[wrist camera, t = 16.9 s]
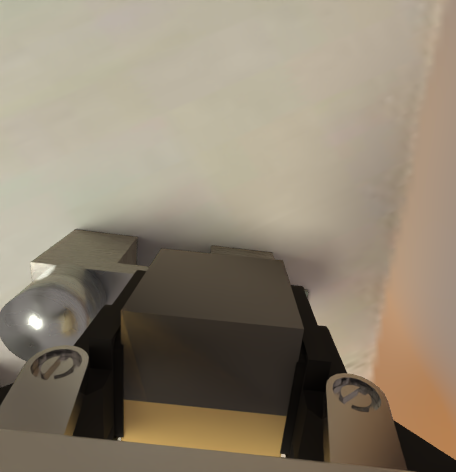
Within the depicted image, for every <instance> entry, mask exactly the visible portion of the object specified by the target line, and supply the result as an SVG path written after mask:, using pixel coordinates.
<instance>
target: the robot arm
mask: <svg viewBox="0 0 456 472" xmlns="http://www.w3.org/2000/svg"><path fill="white" fill-rule="evenodd" d="M145 273H146V271H143V270H137V271H136V272H135V273H134V275H133V276H132V278H131V279H130V280H129V282H128V283H127V285H126V286H125V287H124V289H123V290H122V292H121V293H120V294H119V296H118V297H117V299H116V300H115V301H114V303H113V304H112V305H108V304H107V305H104V306H103V307H102V309H101V310H100V311H99V313H98V314H97V315H96V317H95V318H94V319H93V320H92V322H91V323H90V324H89V326H88V327H87V328H86V330H85V331H84V332H83V334H82V335H81V336H80V338H79V339H78V340H77V342H76V343H75V344H74V346H69V345H63V346H55V347H51V348H48V349H45V350H43V351H41V352H38V353H37V354H35V355H34V356H32V357H31V358H30V359H29V360H28V361H27V362H26V364H25V365H24V367H23V368H22V370H21V372H20V373H19V375H18V377H17V378H16V380H15V382H14V383H12V384H10V385H7V386H4V387H2V388H0V472H456V460H454V459H453V458H451V457H450V456H448V455H447V454H445V453H444V452H442V451H440V450H439V449H437V448H436V447H434V446H433V445H431V444H430V443H428V442H426V441H425V440H423V439H422V438H420V437H419V436H417V435H416V434H414V433H413V432H411V431H410V430H408V429H406V428H405V427H403V426H402V425H400V424H399V423H397V422H395V421H394V420H393V417H392V414H391V410H390V407H389V404H388V400H387V398H386V396H385V394H384V393H383V392H382V391H381V390H380V388H379V387H377V386H376V385H375V384H373V383H372V382H371V381H369V380H367V379H365V378H363V377H360V376H357V375H354V374H347V372H346V370H345V367H344V365H343V362H342V360H341V358H340V355H339V353H338V351H337V348H336V346H335V344H334V341H333V339H332V337H331V334H330V332H329V330H328V328H327V327H326V326H318V325H317V322H316V319H315V317H314V314H313V312H312V309H311V306H310V304H309V301H308V299H307V296H306V293H305V291H304V288H303V286H294V285H291V288H292V292H293V295H294V298H295V301H296V304H297V308H298V311H299V314H300V317H301V320H302V324H303V327H304V333H303V338H302V344H301V349H300V355H299V360H298V362H296V368H295V373H294V379H293V384H292V389H291V395H290V400H289V406H288V411H287V417H286V422H285V428H284V433H283V439H282V444H281V450H280V454H285V455H286V458H284V457H274V456H265V455H255V454H245V453H235V452H226V451H216V450H206V449H196V448H187V447H177V446H167V445H157V444H147V443H137V442H127V441H118V440H117V439H118V437H122V438H124V344H121V310H122V308H123V307H124V305H125V304H126V302H127V300H128V299H129V297H130V296H131V294H132V293H133V291H134V290H135V288H136V287H137V285H138V284H139V282H140V280H141V279H142V277H143V276H144V274H145Z"/></svg>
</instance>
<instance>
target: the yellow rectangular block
mask: <svg viewBox="0 0 456 472" xmlns="http://www.w3.org/2000/svg"><path fill="white" fill-rule="evenodd" d="M303 333H304V327H303V324H302V320H301V317H300V314H299V311H298V308H297V304H296V301H295V298H294V295H293V292H292V288H291V285H290V282H289V279H288V275H287V272H286V269H285V266H284V263H283V260H273V259H263V258H253V257H242V256H232V255H222V254H212V253H202V252H192V251H182V250H172V249H162V248H161V250H160V251H159V253H158V254H157V256H156V257H155V259H154V260H153V262H152V264H151V265H150V267H149V268H148V270H147V271H146V273H145V274H144V276H143V277H142V279H141V280H140V282H139V284H138V285H137V287H136V288H135V290H134V291H133V293H132V294H131V296H130V297H129V299H128V300H127V302H126V304H125V305H124V307H123V308H122V310H121V344H124V438H122V437H121V441H127V442H137V443H147V444H157V445H167V446H177V447H187V448H196V449H206V450H216V451H226V452H235V453H245V454H255V455H265V456H274V457H281V454H280V450H281V444H282V439H283V433H284V428H285V422H286V417H287V411H288V406H289V400H290V395H291V389H292V384H293V379H294V373H295V368H296V362H298V360H299V355H300V349H301V344H302V338H303Z"/></svg>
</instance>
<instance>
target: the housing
mask: <svg viewBox="0 0 456 472" xmlns="http://www.w3.org/2000/svg"><path fill="white" fill-rule="evenodd" d="M210 253H212V254H222V255H232V256H242V257H253V258H263V259H273V260H274V256H273V253H272V252H263V251H255V250H246V249H238V248H229V247H221V246H211V252H210ZM148 268H149V267H147V266H139V265H137V237H135V236H127V235H118V234H110V233H101V232H93V231H84V230H76V229H75V230H74V231H72V232H71V233H70V234H68V235H67V236H65V237H64V238H63V239H61V240H60V241H59V242H57V243H56V244H55V245H53V246H52V247H51V248H49V249H48V250H47V251H45V252H44V253H42V254H41V255H40V256H38V257H37V258H36V259H34V260H33V261H32V262H31V276H32V283H31V284H30V285H28V286H27V287H26V288H25V289H24V290H22V291H21V292H20V293H19V294H18V295H16V296H15V297H14V298H13V299H12V300H11V301H9V302H8V303H7V304H6V305H5V306H4V307H3V308H2V310H1V312H0V337H1V339H2V341H3V343H4V344H5V346H6V347H7V348H8V349H9V350H10V351H11V352H12V353H13V354H15V355H16V356H18V357H19V358H21V359H23V360H25V361H28V360H29V359H30V358H31V357H32V356H34V355H35V354H37V353H38V352H41V351H43V350H45V349H48V348H51V347H55V346H63V345H69V346H74V344H75V343H76V342H77V340H78V339H79V338H80V336H81V335H82V334H83V332H84V331H85V330H86V328H87V327H88V326H89V324H90V323H91V322H92V320H93V319H94V318H95V317H96V315H97V314H98V313H99V311H100V310H101V309H102V307H103V306H104V305H107V304H108V305H112V304H113V303H114V301H115V300H116V299H117V297H118V296H119V294H120V293H121V292H122V290H123V289H124V287H125V286H126V285H127V283H128V282H129V280H130V279H131V278H132V276H133V275H134V273H135V272H136V271H137V270H143V271H147V270H148Z"/></svg>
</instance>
